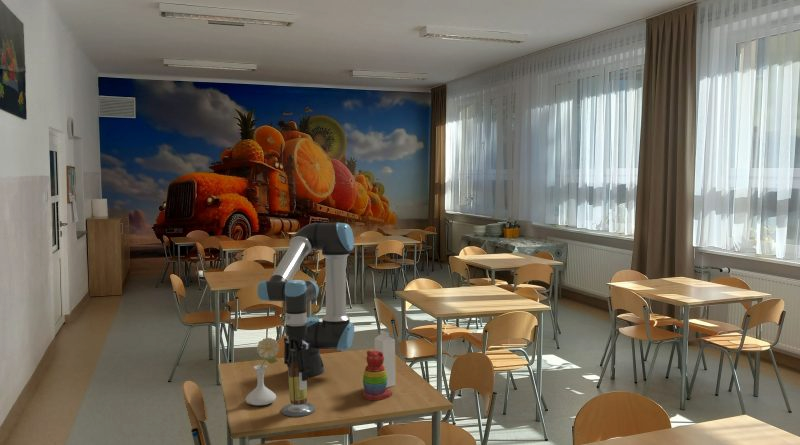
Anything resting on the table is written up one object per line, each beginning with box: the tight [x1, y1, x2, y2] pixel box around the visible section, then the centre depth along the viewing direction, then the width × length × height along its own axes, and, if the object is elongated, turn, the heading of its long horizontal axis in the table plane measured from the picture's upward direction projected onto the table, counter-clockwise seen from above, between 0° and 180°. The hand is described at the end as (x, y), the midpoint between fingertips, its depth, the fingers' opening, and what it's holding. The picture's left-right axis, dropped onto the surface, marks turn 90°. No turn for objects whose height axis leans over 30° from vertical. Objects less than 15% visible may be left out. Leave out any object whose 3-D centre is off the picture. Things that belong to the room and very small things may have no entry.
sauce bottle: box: [287, 349, 308, 405], centre depth 230 cm, size 6×6×20 cm
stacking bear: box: [362, 350, 393, 401], centre depth 245 cm, size 11×10×18 cm
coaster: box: [281, 402, 316, 418], centre depth 231 cm, size 12×12×1 cm
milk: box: [374, 330, 396, 389], centre depth 257 cm, size 6×6×22 cm
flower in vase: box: [245, 336, 280, 406], centre depth 239 cm, size 13×11×25 cm
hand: (297, 386), depth 231 cm, fingers closed on sauce bottle, 6 cm apart
